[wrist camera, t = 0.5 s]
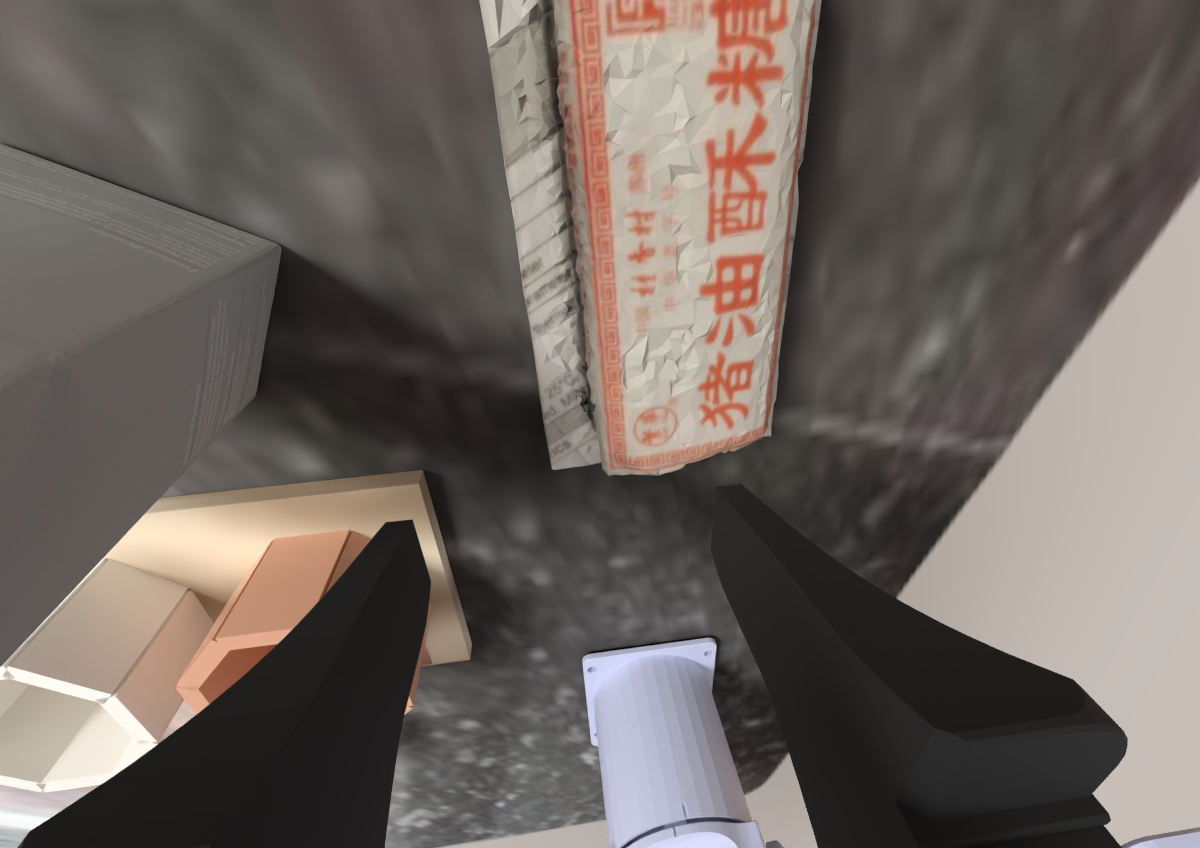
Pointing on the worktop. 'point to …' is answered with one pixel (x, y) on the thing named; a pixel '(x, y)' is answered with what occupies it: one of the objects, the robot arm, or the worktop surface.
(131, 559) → the rack board
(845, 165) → the worktop surface
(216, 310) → the skincare box
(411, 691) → the terracotta octagonal bowl
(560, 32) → the packaged product
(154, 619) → the tube white
